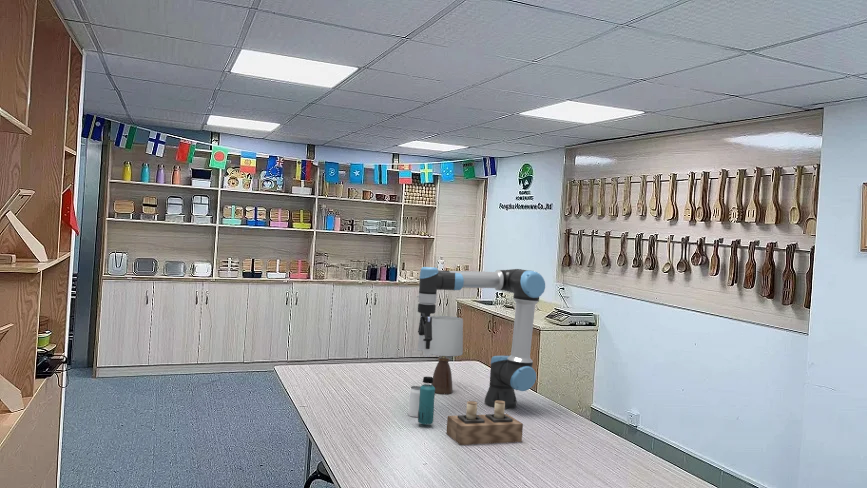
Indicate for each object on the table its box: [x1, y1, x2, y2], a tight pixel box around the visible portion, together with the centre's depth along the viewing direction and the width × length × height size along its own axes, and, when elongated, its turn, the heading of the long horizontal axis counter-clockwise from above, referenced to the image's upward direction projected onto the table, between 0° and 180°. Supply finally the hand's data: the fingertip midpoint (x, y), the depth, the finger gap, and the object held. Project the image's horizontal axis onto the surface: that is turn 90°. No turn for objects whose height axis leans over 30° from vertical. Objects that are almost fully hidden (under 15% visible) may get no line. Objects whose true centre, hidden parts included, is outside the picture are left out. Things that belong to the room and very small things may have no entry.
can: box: [407, 385, 421, 418], centre depth 281 cm, size 6×6×12 cm
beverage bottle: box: [417, 376, 436, 425], centre depth 267 cm, size 6×7×20 cm
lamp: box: [430, 315, 464, 395], centre depth 327 cm, size 19×19×37 cm
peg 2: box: [493, 400, 506, 419], centre depth 258 cm, size 4×4×8 cm
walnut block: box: [445, 413, 524, 446], centre depth 256 cm, size 26×14×8 cm, turn 110°
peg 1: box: [465, 400, 478, 420], centre depth 254 cm, size 4×4×8 cm
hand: (423, 353), depth 278 cm, fingers open, 13 cm apart
